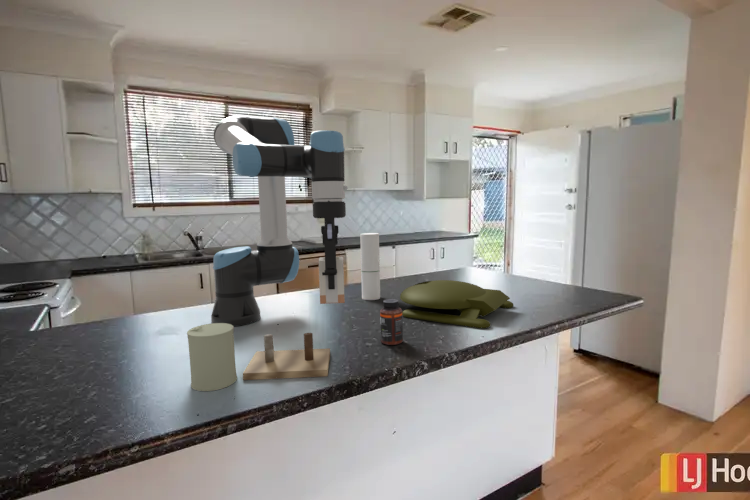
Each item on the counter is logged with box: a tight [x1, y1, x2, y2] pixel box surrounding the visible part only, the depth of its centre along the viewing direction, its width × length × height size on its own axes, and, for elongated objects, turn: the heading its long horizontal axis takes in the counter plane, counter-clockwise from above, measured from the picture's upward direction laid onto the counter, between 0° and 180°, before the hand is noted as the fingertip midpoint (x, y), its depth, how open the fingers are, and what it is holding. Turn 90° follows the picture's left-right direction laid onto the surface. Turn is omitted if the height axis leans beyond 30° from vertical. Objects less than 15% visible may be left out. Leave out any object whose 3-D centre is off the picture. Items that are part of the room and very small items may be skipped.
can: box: [186, 322, 238, 392], centre depth 87 cm, size 9×9×12 cm
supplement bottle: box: [379, 298, 404, 346], centre depth 110 cm, size 6×6×11 cm
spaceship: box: [399, 279, 514, 330], centre depth 140 cm, size 35×31×10 cm
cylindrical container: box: [359, 232, 381, 301], centre depth 159 cm, size 7×7×25 cm
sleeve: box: [318, 256, 346, 305], centre depth 97 cm, size 6×6×10 cm
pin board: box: [242, 332, 331, 381], centre depth 95 cm, size 18×13×8 cm
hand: (332, 299), depth 98 cm, fingers closed on sleeve, 6 cm apart
